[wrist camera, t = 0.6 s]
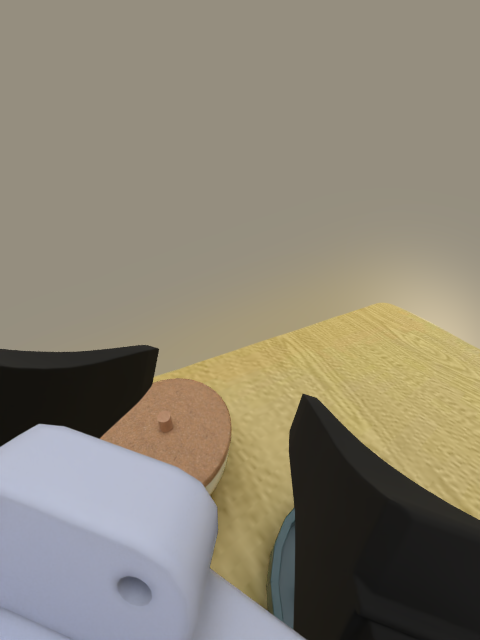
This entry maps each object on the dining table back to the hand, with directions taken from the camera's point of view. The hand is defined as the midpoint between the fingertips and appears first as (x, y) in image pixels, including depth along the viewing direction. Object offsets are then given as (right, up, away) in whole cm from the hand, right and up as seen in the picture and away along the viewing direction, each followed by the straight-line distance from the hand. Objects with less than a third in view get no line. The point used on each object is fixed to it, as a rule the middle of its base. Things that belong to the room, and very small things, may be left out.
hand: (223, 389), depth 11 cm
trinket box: (-6, -12, +13) cm, 19 cm away
